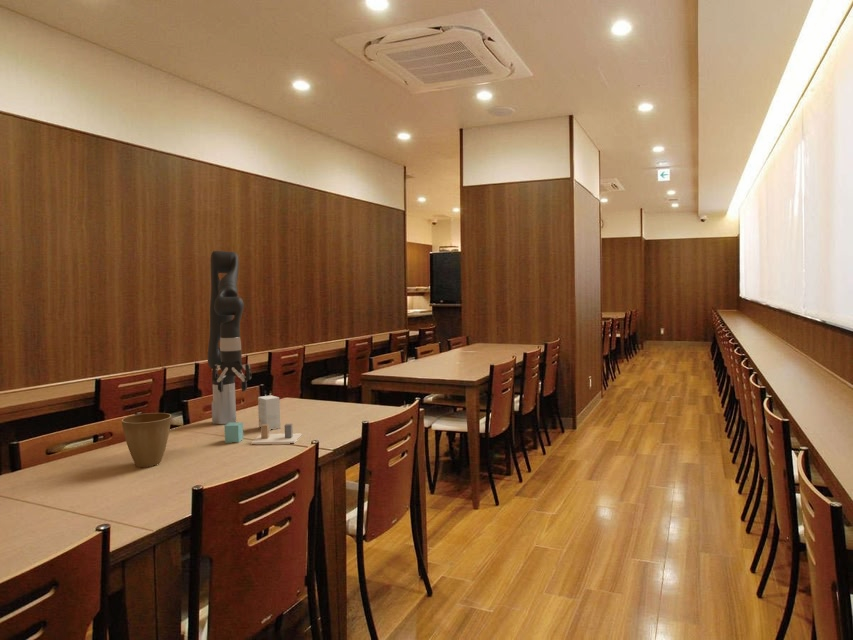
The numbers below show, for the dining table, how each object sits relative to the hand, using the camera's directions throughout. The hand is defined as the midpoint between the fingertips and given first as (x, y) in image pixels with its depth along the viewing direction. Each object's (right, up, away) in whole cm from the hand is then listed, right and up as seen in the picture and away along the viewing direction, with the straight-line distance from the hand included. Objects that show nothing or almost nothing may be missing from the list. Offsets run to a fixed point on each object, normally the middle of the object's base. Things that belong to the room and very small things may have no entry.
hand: (232, 391), depth 216 cm
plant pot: (-19, -21, -27) cm, 39 cm away
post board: (+17, -19, +1) cm, 25 cm away
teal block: (0, -19, +1) cm, 19 cm away
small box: (+8, -18, +21) cm, 29 cm away
